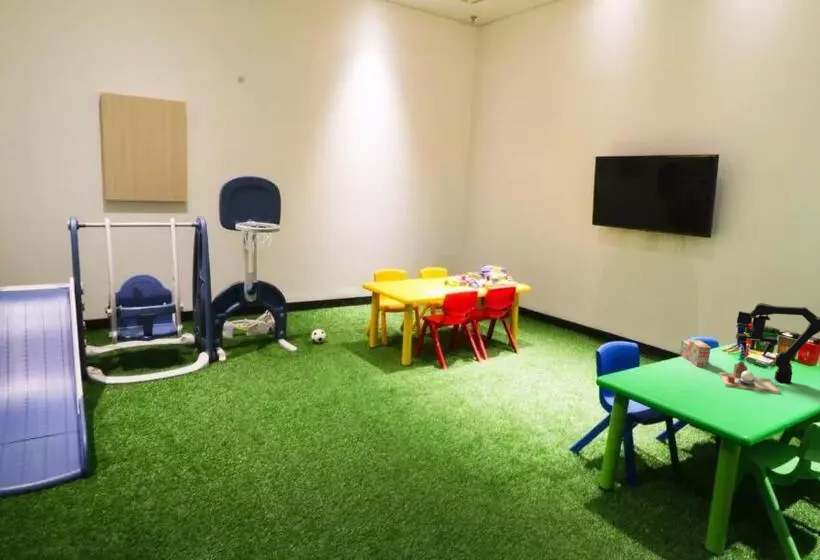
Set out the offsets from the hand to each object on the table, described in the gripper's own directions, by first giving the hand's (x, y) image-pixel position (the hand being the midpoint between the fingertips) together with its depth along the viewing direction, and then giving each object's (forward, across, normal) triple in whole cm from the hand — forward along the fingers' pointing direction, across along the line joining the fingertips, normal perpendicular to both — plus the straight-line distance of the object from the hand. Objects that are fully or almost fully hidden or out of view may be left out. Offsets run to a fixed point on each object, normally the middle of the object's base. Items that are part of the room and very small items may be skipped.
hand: (754, 354), depth 294 cm
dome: (+9, +7, +22) cm, 25 cm away
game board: (+12, +5, +16) cm, 21 cm away
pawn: (+10, +8, +11) cm, 17 cm away
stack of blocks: (+12, +27, -13) cm, 32 cm away
